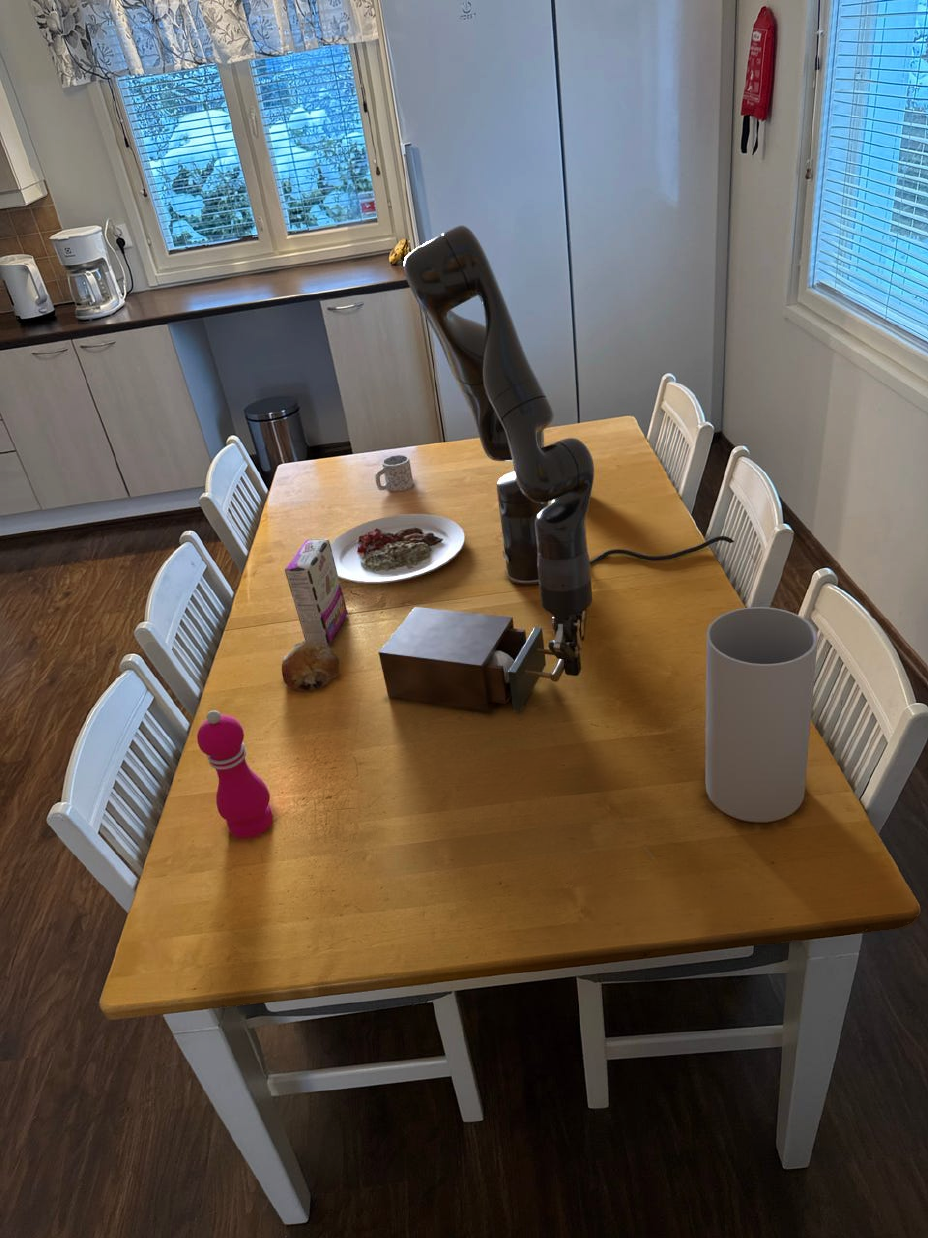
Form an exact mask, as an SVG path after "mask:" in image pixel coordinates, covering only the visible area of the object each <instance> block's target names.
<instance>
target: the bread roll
mask: <svg viewBox="0 0 928 1238" xmlns="http://www.w3.org/2000/svg"><path fill="white" fill-rule="evenodd" d="M339 672H340V658H339V656H338V654H337V652H335V651H334V650H333V649H332V648H331V647H330V646H329V645H325V644H323V643H320V642H316V641H302V642H297V643H295V644H294V646H293V647H292V648H291V650H290V651H289V652H287V654H286V655H285V656H284V657H283V660H282V662H281V674H282V675H281V676H282V679H283V683H284V684H285V685H286V686H287V687H288V688H289V689H291V690H293V691H296V692H297V691H298V692H312V691H316V690H319V689H321V688H324V687H325V686H327V685H328V684H329V683H331V682H333V681H334V680H335V679H336V678H337V676H338V675H339V674H340V673H339Z"/></svg>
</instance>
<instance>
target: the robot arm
mask: <svg viewBox="0 0 928 1238" xmlns="http://www.w3.org/2000/svg"><path fill="white" fill-rule="evenodd" d="M486 254H487V253H486V252H485V250H484V249H483V246H482V244H481V242H480V241H479V239H478V238H477V236H476V234H474V232H473V231H472V230H471V228H468V227H467V226H465V225H458V226H455V227H453V228H451V229H449V230H447V231H445V232H443V233H441V234H440V235H438V236H436V237H434V238H432V239H431V240H429V241H426V242H425V243H423V244H422V245H419V246H418V247H416V248H415V249H413V250H412V251H411V252H409V253H408V254H407V255H406V256H405V257H404V261H403V270H404V274H405V278H406V281H407V283H408V286H409V288H410V290H411V292H412V294H413V296H414V298H415V300H416V302H417V304H418V305H419V307H420V309H421V311H422V312H423V315H424V316H425V318H426V320H427V321H428V323H429V325H430V327H431V328H432V331H433V332H434V334H435V336H436V338H437V340H438V342H439V344H440V346H441V349H442V351H443V354H444V356H445V358H446V361H447V364H448V366H449V368H450V371H451V373H452V375H453V378H454V380H455V383H456V384H457V386H458V388H459V389H460V391H461V393H462V395H463V398H464V400H465V402H466V404H467V406H468V408H469V411H470V413H471V416H472V418H473V422H474V425H475V427H476V432H477V434H478V437H479V440H480V444H481V446H482V449H483V451H484V453H485V454H486V456H487V457H488V458H489V459H490V460H492V461H495V462H512V466H513V470H511V471H509V472H507V473H505V474H503V475H502V476H501V477H500V478H499V479H498V480H497V482H496V493H497V494H496V495H497V502H498V508H499V509H498V510H499V518H500V525H501V535H502V542H503V550H502V557H503V558H504V560H505V567H506V568H505V569H506V576H507V579H508V580H509V581H510V582H511V583H513V584H516V585H522V586H533V585H538V584H539V586H538V587H539V593H540V603H541V604H540V605H541V607H542V608H543V610H545V612H547V613H549V614H550V615H551V616H552V620H551V625H552V626H551V627H552V630H553V631H554V637H555V638H554V639H553V640H549V643H548V650H551V652H552V653H553V654H554V655H553V656H555V658H556V659H557V660H559V659H563V660H564V668H565V669H564V674H565V675H566V676H572V677H578V676H579V675H580V673H581V670H582V661H581V651H582V648H583V646H582V642H584V641H585V638H586V637H585V635H586V627H587V619H588V611H589V607H590V606H591V605H592V603H593V587H592V574H591V565H592V564H595V563H596V562H599V561H600V560H602V559H604V558H606V557H608V556H611V555H616V554H617V555H618V554H619V555H628V556H631V557H635V558H637V559H641V560H645V561H653V562H654V561H655V562H657V561H658V562H659V561H667V560H671V559H675V558H678V557H682V556H685V555H688V554H691V553H695V552H698V551H699V550H702V549H705V548H706V547H708V546H710V545H712V544H714V543H717V542H719V541H720V542H721V541H723V542H727V543H729V544H733V543H735V540H733V539H732V537H729V536H725V535H718V536H716V537H712V538H710V539H708V540H706V541H704V542H702V543H700V544H697V545H696V546H693V547H688V548H686V549H682V550H680V551H676V552H674V553H670V554H665V555H648V554H643V553H639V552H636V551H634V550H629V549H624V548H623V549H622V548H616V549H615V548H614V549H609V550H606V551H604V552H602V553H600V554H599V555H598V556H596V557H595V558H593V559H592V560H590V555H589V551H588V543H587V529H586V518H587V514H588V510H589V506H590V500H591V495H592V492H593V491H592V490H593V486H594V479H595V466H594V465H595V463H594V459H593V456H592V453H591V451H590V449H589V448H588V447H587V445H585V443H584V442H583V441H581V440H579V439H577V438H575V437H567V438H563V439H559V440H558V441H555V442H553V443H550V444H548V445H545V431H544V430H545V429H547V427H549V426H550V425H551V423H552V422H553V421H554V417H555V414H554V413H555V412H554V410H553V407H552V405H551V403H550V401H549V399H548V397H547V395H546V393H545V391H544V390H543V388H542V386H541V383H540V382H539V380H538V378H537V376H536V374H535V372H534V370H533V369H532V367H531V364H530V362H529V359H528V358H527V356H526V353H525V351H524V349H523V346H522V343H521V340H520V337H519V335H518V332H517V329H516V326H515V323H514V321H513V318H512V315H511V312H510V310H509V308H508V305H507V302H506V300H505V298H504V295H503V293H502V290H501V288H500V286H499V282H498V280H497V278H496V276H495V273H494V271H493V268H492V266H491V264H490V261H489V259H488V257H487V255H486ZM476 297H478V298H479V299H480V302H481V305H482V309H483V312H484V320H485V321H484V322H485V324H482V323H480V322H477V321H475V320H472V319H469V318H466V317H464V316H461V315H459V314H457V313H456V312H454V311H453V309H455V308H457V307H459V306H460V305H462V304H464V303H466V302H468V301H470V300H471V299H473V298H476ZM549 502H550V503H549Z"/></svg>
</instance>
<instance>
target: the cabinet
mask: <svg viewBox="0 0 928 1238" xmlns="http://www.w3.org/2000/svg"><path fill="white" fill-rule="evenodd" d="M514 625H515V624H514V618H513V616H503V615H494V614H486V613H476V612H467V611H458V610H457V611H456V610H447V609H439V608H430V607H420V606H414V607H413V609H412V610H411V611H410V612H409V613H408V615H407V616H406V617H405V619H404V620H403V621H402V623H400V625H399V626H398V627H397V628H396V629H395V631H394V632H393V633H392V634H391V636H390V637H389V638H388V640H387V641H385V643H384V645H383V646H382V647H381V648H380V649H379V651H378V657H379V661H380V665H381V666H380V667H381V670H382V674H383V680H384V683H385V688H386V692H387V698H388V699H389V700H396V701H403V702H407V703H408V702H409V703H416V704H421V705H428V706H435V707H442V708H448V709H455V710H462V711H469V712H474V713H481V714H488V715H489V714H490V712H491V711H492V709H493V708H494V706H495V705H496V702H489V695H488V689H487V682H486V675H485V669H484V667H485V665H486V664H487V662H488V660H489V659H490V657H491V656H492V654H493V653H494V651H495V649H496V648H497V646H498V645H499V643H500V642H501V640H502V638H503V637H504V635H505V634H506V632H507V631H508V629H509V628H514V629H515V626H514Z"/></svg>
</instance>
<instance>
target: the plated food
mask: <svg viewBox="0 0 928 1238" xmlns="http://www.w3.org/2000/svg"><path fill="white" fill-rule="evenodd" d="M465 540H466V535H465V532H464V529H463V528H462V527H461V526H460V525H459V524H458V523H457V522H455V521H453V520H451V519H449V518H446V517H444V516H440V515H435V514H427V513H405V514H396V515H395V514H394V515H390V516H389V515H388V516H385V517H380V518H377V519H373V520H370V521H367V522H364V523H361V524H359V525H356V526H354V527H352V528H350V529H348V530H346V531H345V532H343V533H342V534H340V535H338V537H336V538H335V539H334V540H333V541H332V542H330V546H331V550H332V554H333V558H334V562H335V566H336V569H337V574H338V578H339V579H341V580H345V581H349V582H353V583H361V584H387V583H396V582H400V581H401V582H402V581H406V580H410V579H414V578H417V577H421V576H424V575H426V574H428V573H431V572H433V571H436V570H438V569H439V568H441V567H443V566H444V565H446V564H448V563H449V562H450V561H452V560H453V559H454V558H456V557H457V555H458V554H459V553H460V552H461V551H462V549H463V547H464V545H465Z"/></svg>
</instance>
